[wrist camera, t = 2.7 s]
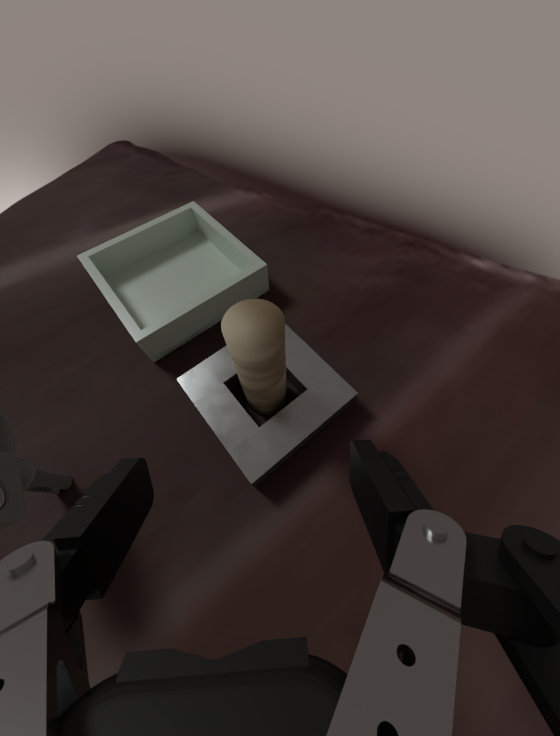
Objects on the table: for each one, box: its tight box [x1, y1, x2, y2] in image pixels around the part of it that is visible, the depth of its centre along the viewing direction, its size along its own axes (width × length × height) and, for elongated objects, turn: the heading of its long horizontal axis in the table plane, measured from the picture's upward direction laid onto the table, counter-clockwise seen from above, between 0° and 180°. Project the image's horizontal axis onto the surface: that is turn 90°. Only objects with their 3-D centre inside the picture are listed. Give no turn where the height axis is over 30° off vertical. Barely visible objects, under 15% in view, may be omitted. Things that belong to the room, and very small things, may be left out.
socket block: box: [177, 324, 358, 487], centre depth 27 cm, size 12×12×2 cm
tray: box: [77, 201, 269, 362], centre depth 34 cm, size 16×16×4 cm
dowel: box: [221, 299, 287, 415], centre depth 23 cm, size 4×4×12 cm
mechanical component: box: [0, 411, 72, 531], centre depth 20 cm, size 3×10×10 cm, turn 32°
